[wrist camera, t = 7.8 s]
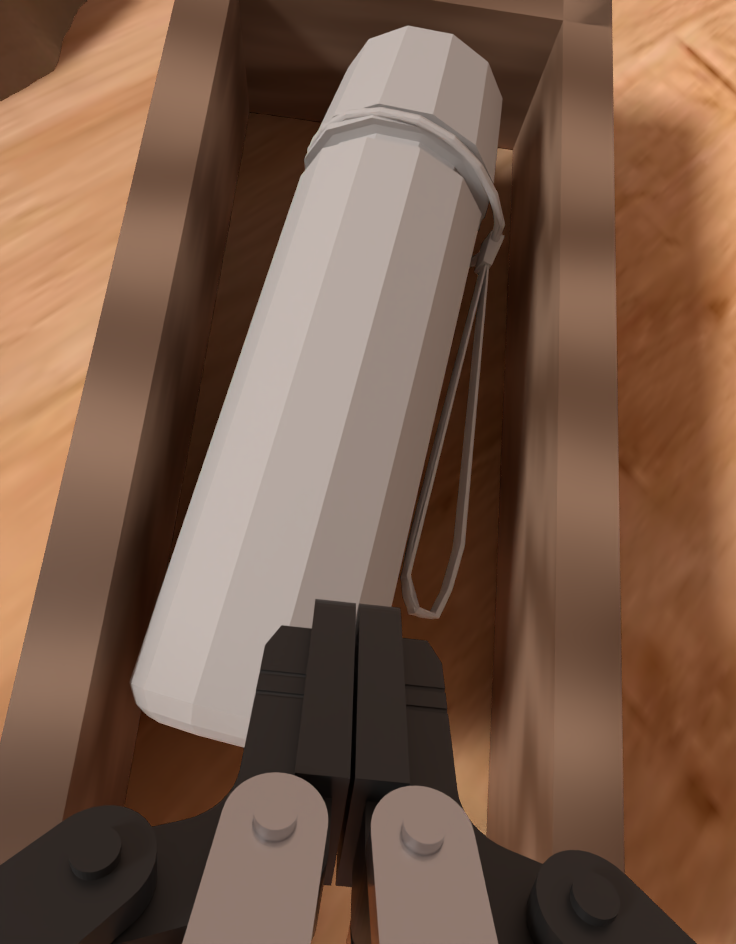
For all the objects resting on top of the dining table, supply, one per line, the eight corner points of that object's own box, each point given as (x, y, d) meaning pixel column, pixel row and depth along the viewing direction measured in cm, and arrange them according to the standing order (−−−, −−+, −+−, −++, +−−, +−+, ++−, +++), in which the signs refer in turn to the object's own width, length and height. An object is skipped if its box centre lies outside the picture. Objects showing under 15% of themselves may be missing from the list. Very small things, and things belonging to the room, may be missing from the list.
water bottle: (105, 719, 16) (360, -26, 24) (125, 700, 23) (316, 134, 31) (463, 804, 18) (593, 82, 26) (378, 761, 25) (499, 210, 33)
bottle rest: (538, 946, 24) (627, 1045, 18) (44, 907, 23) (-60, 996, 17) (553, 122, 35) (611, -10, 28) (214, 73, 34) (192, -76, 27)
